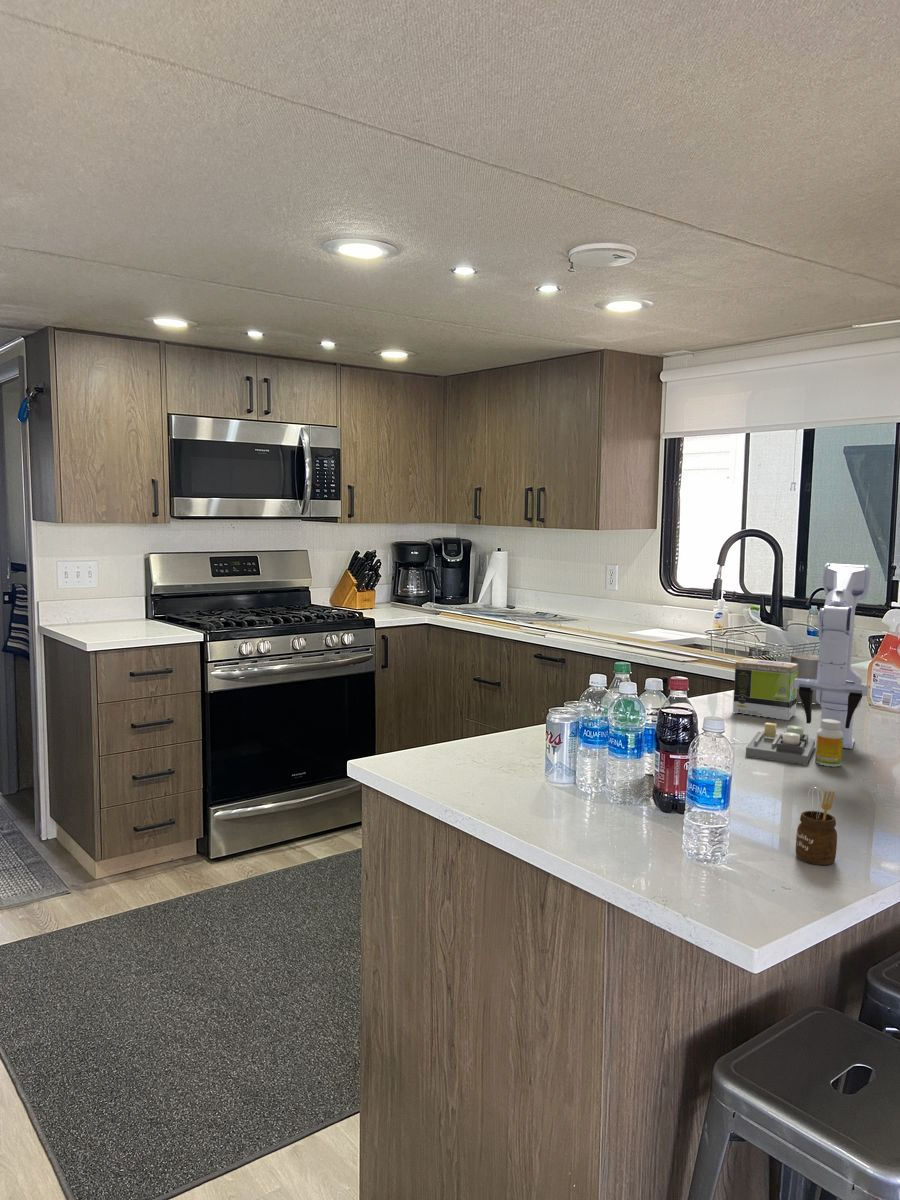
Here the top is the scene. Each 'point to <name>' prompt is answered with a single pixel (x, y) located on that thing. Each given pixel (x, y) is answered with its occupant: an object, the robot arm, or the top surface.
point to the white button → (791, 739)
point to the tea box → (765, 688)
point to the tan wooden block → (770, 730)
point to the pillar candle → (806, 670)
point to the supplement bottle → (829, 743)
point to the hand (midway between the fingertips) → (827, 725)
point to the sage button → (796, 730)
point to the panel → (780, 749)
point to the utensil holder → (817, 834)
